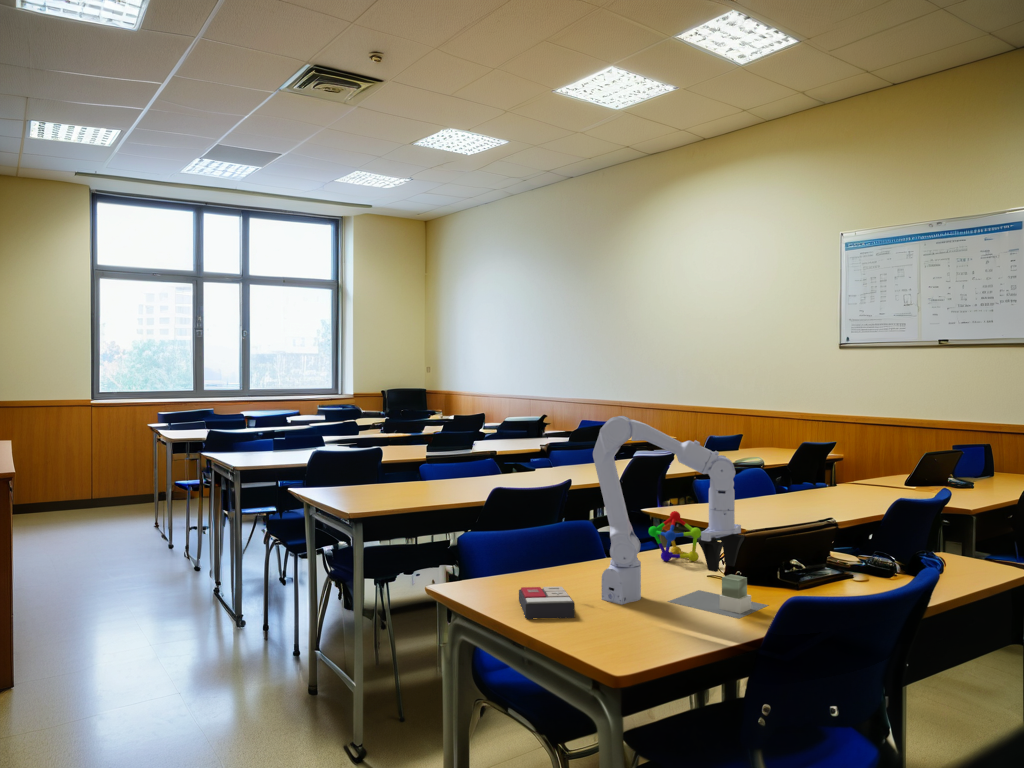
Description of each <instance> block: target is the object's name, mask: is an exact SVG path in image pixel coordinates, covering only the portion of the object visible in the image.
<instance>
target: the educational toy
mask: <svg viewBox="0 0 1024 768" xmlns="http://www.w3.org/2000/svg"><path fill="white" fill-rule="evenodd" d="M677 522H678V523H680V524H681V525H682V526H684V527H685V528H686V529H687V530H689V531H686V532H685V531H684V532H679V533H678V532H675V531H674V530H675V527H676V523H677ZM663 530H664V531H665V532H664V531H663ZM701 532H702V531H701V529H700V528H699V527H692V526H691V525H689V524H688V523H687V522H686V521H684V520H683V519H682V518H681V514H680V512H679V511H677V510H673V511H671V512H670V514H669V517H668V518H667V519H666V520H665V521H663V522H662V523H660V524H659V525H657V526H655V525H653V526H650V527H648V534H649V536H650V537H654V539H655V540H656V543H657V545H658V547H659V549H660V551H661V553H660V558H661V560H662V561H663V562H670V560H672V559H688V560H689V561H690V562H692V561H695V562H697V561H698V560H699V554H698V552H697V551H696V549H697V542H698V539H699V538H701ZM658 535H659V536H663V537H665V540H666V541H667V542H666V546H665V547H664V545H663V543H662V541H661V539H660V537H659V536H658ZM687 536H690V537H691V538H693V539H692V548H691V551H689V552H687V551H682V548H681V547H679V546H678V545H677V544H676V541H675V540H676V538H680V537H687ZM671 546H672V547H671ZM670 547H671V549H670Z"/></svg>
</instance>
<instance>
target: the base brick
mask: <svg viewBox="0 0 1024 768" xmlns="http://www.w3.org/2000/svg"><path fill="white" fill-rule="evenodd" d="M719 595H720V609H723V610H727V611H731V612H736V613H740V614H741V613H743V612H745V611H747V610H750V609H751V601H752V595H751V594H747V595H746V596H744V597H742V598H739V599H737V598H732V597H728V596H723V595H722V594H719Z"/></svg>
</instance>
